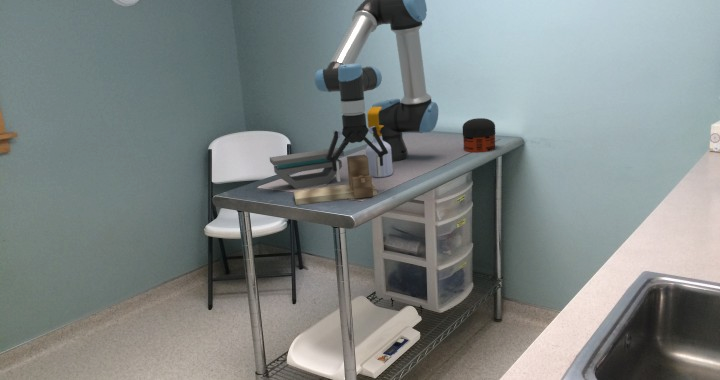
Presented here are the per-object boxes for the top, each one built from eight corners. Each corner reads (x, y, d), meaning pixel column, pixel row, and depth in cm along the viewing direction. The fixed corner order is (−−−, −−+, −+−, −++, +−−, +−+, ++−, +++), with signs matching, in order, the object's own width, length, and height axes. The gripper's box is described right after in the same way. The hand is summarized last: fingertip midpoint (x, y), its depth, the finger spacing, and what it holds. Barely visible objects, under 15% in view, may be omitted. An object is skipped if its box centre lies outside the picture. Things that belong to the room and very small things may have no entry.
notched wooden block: (367, 188, 207) (364, 154, 204) (373, 196, 197) (370, 161, 194) (349, 190, 206) (346, 156, 203) (355, 199, 196) (351, 163, 193)
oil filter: (488, 153, 245) (500, 146, 255) (487, 122, 242) (499, 116, 252) (458, 152, 252) (470, 145, 262) (457, 122, 249) (469, 116, 259)
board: (371, 187, 210) (370, 181, 209) (376, 194, 200) (376, 189, 199) (294, 197, 206) (293, 191, 205) (296, 205, 196) (295, 199, 196)
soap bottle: (396, 171, 228) (391, 105, 221) (387, 178, 220) (381, 109, 213) (374, 171, 232) (369, 105, 225) (364, 177, 224) (358, 109, 217)
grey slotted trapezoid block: (277, 192, 214) (273, 161, 211) (273, 187, 221) (269, 157, 218) (346, 181, 221) (343, 151, 218) (340, 176, 228) (337, 147, 225)
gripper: (389, 108, 203) (393, 171, 208) (313, 115, 199) (320, 180, 205) (394, 110, 195) (398, 176, 201) (316, 119, 192) (322, 185, 197)
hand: (358, 178), depth 203 cm, fingers open, 13 cm apart
